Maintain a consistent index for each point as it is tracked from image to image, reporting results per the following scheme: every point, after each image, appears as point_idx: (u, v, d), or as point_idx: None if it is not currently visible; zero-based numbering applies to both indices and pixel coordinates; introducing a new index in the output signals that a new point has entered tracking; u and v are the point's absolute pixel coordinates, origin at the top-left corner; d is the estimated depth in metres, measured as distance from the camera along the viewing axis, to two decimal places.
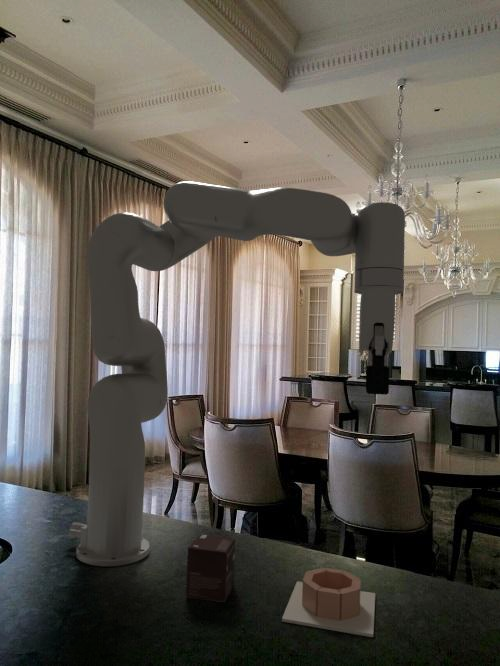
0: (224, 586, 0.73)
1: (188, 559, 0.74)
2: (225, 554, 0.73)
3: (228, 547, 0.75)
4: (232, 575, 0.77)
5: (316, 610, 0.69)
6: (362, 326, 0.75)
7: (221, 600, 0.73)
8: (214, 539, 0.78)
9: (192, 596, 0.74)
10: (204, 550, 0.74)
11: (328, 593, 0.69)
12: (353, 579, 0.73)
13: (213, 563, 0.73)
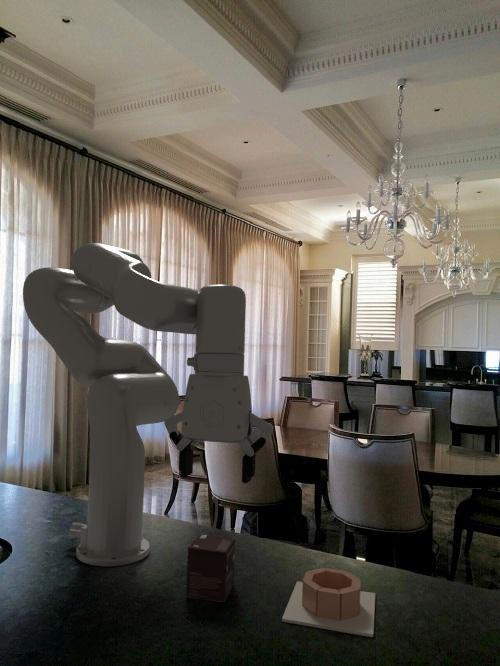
0: (224, 586, 0.73)
1: (188, 559, 0.74)
2: (225, 554, 0.73)
3: (228, 547, 0.75)
4: (232, 575, 0.77)
5: (316, 610, 0.69)
6: (244, 416, 0.74)
7: (221, 600, 0.73)
8: (214, 538, 0.78)
9: (192, 596, 0.74)
10: (204, 550, 0.74)
11: (328, 593, 0.69)
12: (353, 579, 0.73)
13: (213, 563, 0.73)
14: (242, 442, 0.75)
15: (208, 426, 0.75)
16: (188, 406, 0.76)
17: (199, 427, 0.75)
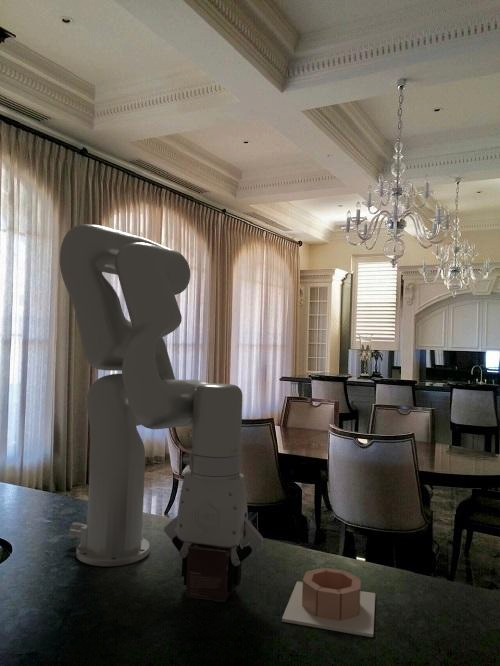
0: (224, 586, 0.73)
1: (188, 559, 0.74)
2: (225, 553, 0.73)
3: None
4: None
5: (316, 610, 0.69)
6: (239, 521, 0.73)
7: (221, 600, 0.73)
8: None
9: (192, 596, 0.74)
10: (204, 550, 0.74)
11: (328, 593, 0.69)
12: (353, 579, 0.73)
13: (213, 563, 0.73)
14: (231, 549, 0.74)
15: (203, 530, 0.74)
16: (183, 508, 0.75)
17: (194, 530, 0.74)
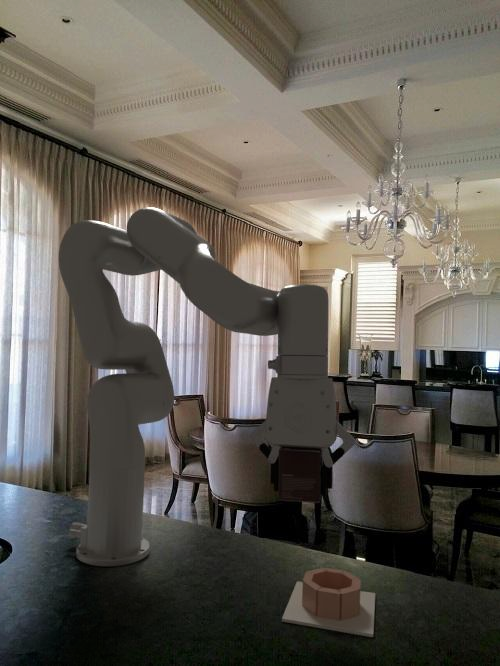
0: (319, 486, 0.71)
1: (279, 461, 0.72)
2: (318, 454, 0.71)
3: None
4: None
5: (316, 610, 0.69)
6: (332, 420, 0.71)
7: (316, 501, 0.71)
8: None
9: (285, 498, 0.71)
10: (296, 451, 0.72)
11: (328, 593, 0.69)
12: (353, 579, 0.73)
13: (306, 463, 0.71)
14: (323, 451, 0.72)
15: (294, 431, 0.72)
16: (272, 410, 0.73)
17: (285, 432, 0.72)
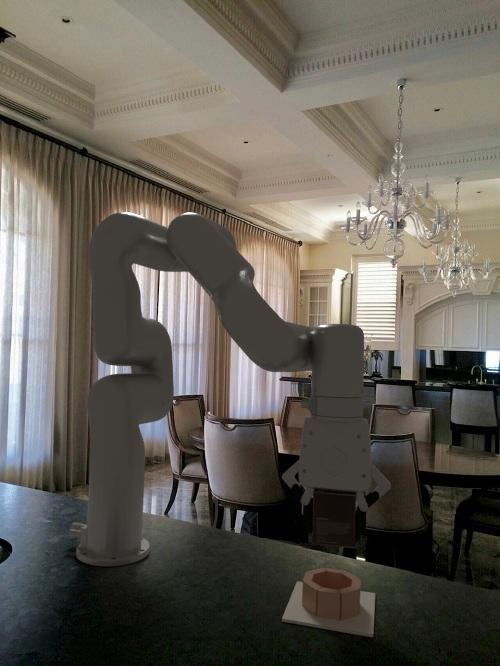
0: (354, 531, 0.70)
1: (314, 504, 0.71)
2: (354, 498, 0.70)
3: None
4: None
5: (316, 610, 0.69)
6: (369, 464, 0.70)
7: (351, 546, 0.69)
8: None
9: (319, 542, 0.70)
10: (331, 494, 0.70)
11: (328, 593, 0.69)
12: (353, 579, 0.73)
13: (342, 508, 0.70)
14: (358, 494, 0.71)
15: (329, 474, 0.71)
16: (306, 452, 0.72)
17: (319, 475, 0.71)
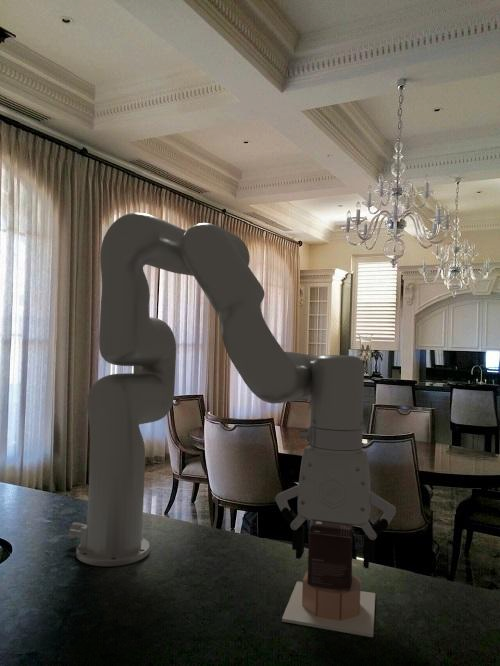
0: (349, 573, 0.69)
1: (310, 545, 0.71)
2: (350, 540, 0.70)
3: (350, 533, 0.71)
4: None
5: (316, 610, 0.69)
6: (367, 497, 0.70)
7: (346, 588, 0.69)
8: (331, 524, 0.75)
9: (315, 583, 0.70)
10: (327, 535, 0.70)
11: (328, 593, 0.69)
12: (353, 579, 0.73)
13: (337, 549, 0.70)
14: (363, 524, 0.71)
15: (328, 507, 0.71)
16: (305, 484, 0.72)
17: (318, 507, 0.71)
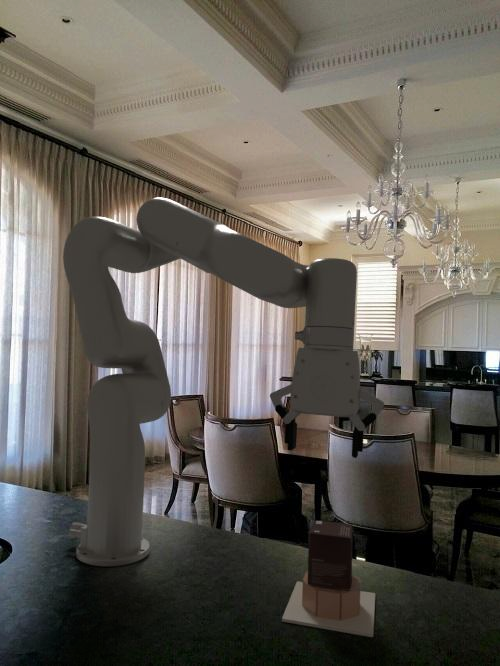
0: (349, 573, 0.69)
1: (310, 545, 0.71)
2: (350, 540, 0.70)
3: (350, 533, 0.71)
4: None
5: (316, 610, 0.69)
6: (356, 390, 0.74)
7: (346, 588, 0.69)
8: (331, 524, 0.75)
9: (315, 583, 0.70)
10: (327, 535, 0.70)
11: (328, 593, 0.69)
12: (353, 579, 0.73)
13: (337, 549, 0.70)
14: (353, 417, 0.75)
15: (319, 400, 0.75)
16: (298, 379, 0.76)
17: (309, 400, 0.75)
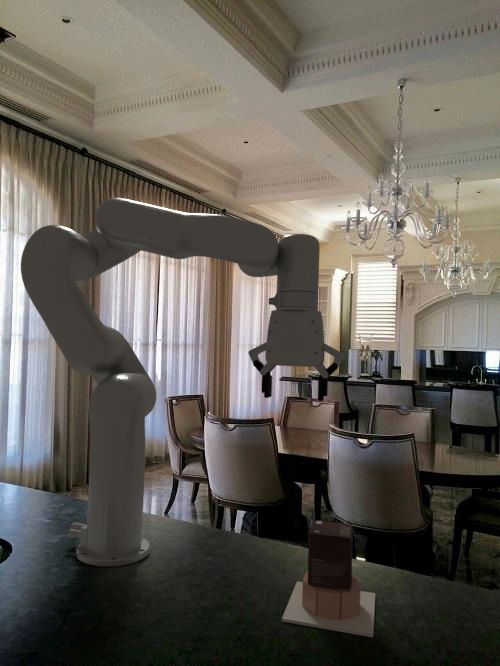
0: (349, 573, 0.69)
1: (310, 545, 0.71)
2: (350, 540, 0.70)
3: (350, 533, 0.71)
4: None
5: (316, 610, 0.69)
6: (320, 343, 0.88)
7: (346, 588, 0.69)
8: (331, 524, 0.75)
9: (315, 583, 0.70)
10: (327, 535, 0.70)
11: (328, 593, 0.69)
12: (353, 579, 0.73)
13: (337, 549, 0.70)
14: (318, 366, 0.88)
15: (289, 353, 0.88)
16: (271, 336, 0.90)
17: (281, 354, 0.89)
